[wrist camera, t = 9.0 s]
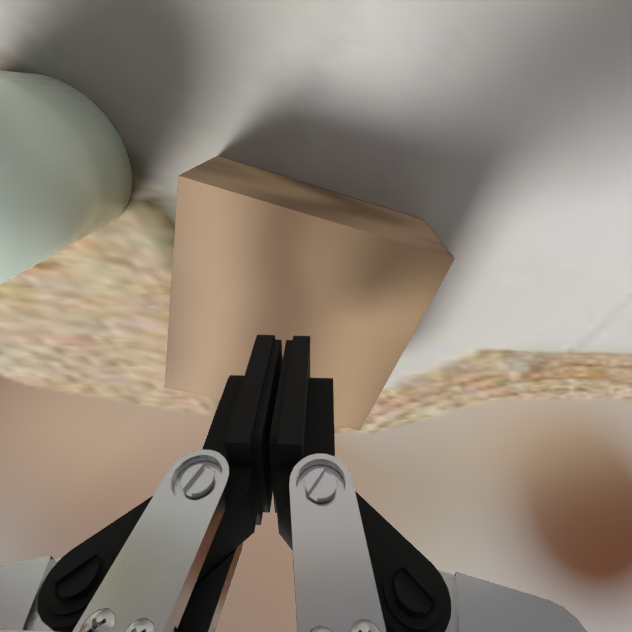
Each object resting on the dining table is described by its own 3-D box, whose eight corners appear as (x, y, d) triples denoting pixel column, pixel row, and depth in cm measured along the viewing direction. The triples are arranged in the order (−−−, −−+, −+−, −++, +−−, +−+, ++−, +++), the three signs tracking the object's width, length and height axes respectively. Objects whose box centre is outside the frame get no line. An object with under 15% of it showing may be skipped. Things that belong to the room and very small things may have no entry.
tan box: (422, 218, 17) (454, 258, 12) (353, 366, 22) (359, 430, 18) (219, 154, 15) (178, 175, 11) (197, 328, 21) (164, 387, 16)
